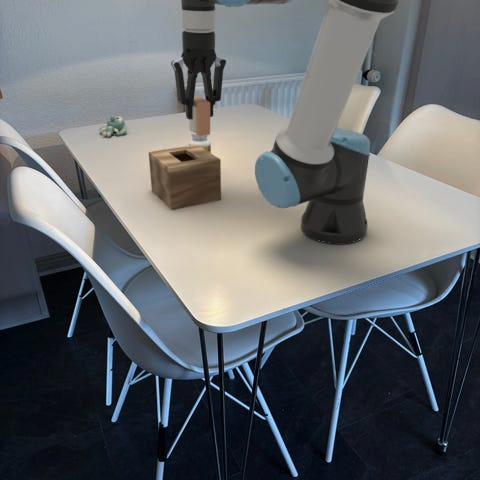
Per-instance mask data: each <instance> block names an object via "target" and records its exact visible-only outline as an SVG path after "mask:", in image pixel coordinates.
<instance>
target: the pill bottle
mask: <svg viewBox="0 0 480 480" xmlns="http://www.w3.org/2000/svg"><path fill="white" fill-rule="evenodd" d="M190 132H191V131H190ZM208 136H209V135H203V136H198V135H197V134H196V133H193V132H191V138H192V139H190V140H189V143H188V146H191V145H199V146H200V147H202V148H203V149H205V150H207V151H208V152H210V153H211V154H212V146H211V145H212V143H211V141H210V140H209V139H208Z"/></svg>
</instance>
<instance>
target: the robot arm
mask: <svg viewBox="0 0 480 480" xmlns="http://www.w3.org/2000/svg"><path fill="white" fill-rule="evenodd" d="M180 1H181V27H182V28H183V31H182V33H181V35H182V41H181V42H182V53H181V56H180V58H179V59H177V60H172V61H171V62H170V65H171V67H172V69H173V71H174V78H175V87H176V94H177V95H176V96H177V101H178V103H180V104H181V105H184V106H185V116H186V119H188V120H190V123H189V131H190V132H193V133H197V122H196V106H194V105H193V103H194V97H195V92H196V84H197V79H198V75H199V73H200V74H201V77H202V84H203V88H204V89H203V91H204V97H205V98H204V99H205V100H207V101H209V102H210V118H213V116H214V106H215V105H216V103H217V102H220V101H221V99H222V91H223V90H222V89H223V88H222V87H223V80H224V79H223V76H224V68H225V67H226V64H227V60H226V59H223V58H222V57H218V56H217V53H216V50H215V49H216V33H215V31H213V30H214V29H216V5H220V6H224V7H226V8H227V7H228V8H231V7H234V8H237V7H238V8H239V7H243V6H247V5H264V4H265V5H267V4H268V5H271V4H272V5H273V4H274V5H284V4H288V3H292V2H293V1H294V0H180ZM399 2H400V0H328V4H327V7H326V10H325V13H324V16H323V20H322V23H321V25H320V28H319V31H318V35H317V37H316V41H315V43H314V47H313V50H312V52H311V55H310V58H309V62H308V64H307V68H306V71H305V73H304V77H303V79H302V83H301V86H300V89H299V92H298V95H297V99H296V101H295V104H294V108H293V110H292V113H291V115H290V116H291V117H290V120H289V122H288V126H287V127H285V128H282V129H281V130H279V131H278V133H277V134H276V137H275V141H274V144H273V147H272V149H271V150H269V151H265V152H263V153H262V154H260V155H259V156H258V157H257V159H256V161H255V164H254V176H255V177H254V178H255V180H256V183H257V187H258V189H259V191H260V193H261V195H262V196H263V198H264V199H265V200H266V202H267V203H269V204H270V205H271V206H273V207H275V208H277V209H287V208H291V207H294V208H295V207H297V206H298V205H301V204H304V203H308V204H307V205H306V208H305V210H304V212H303V214H302V216H301V219H300V229H301V232H302V233H303V232H304V233H305V234H304V233H303V234H304V235H305V236H306V237H308V236H309V238H310V237H311V239H312V238H313V239H312V240H314V239H316V240H315V241H317V240H320V241H324V242H323V243H325V242H330V243H329V244H331V243H348V244H350V243H349V242H353V241H357V240H359V239H361V238H363V237H364V236H365V237H366V235H367V232H368V219H367V217H366V216H367V215H366V210H365V205H364V194H365V186H366V181H367V174H368V167H369V159H370V156H371V153H370V149H371V141H370V139H369V138H368V136H366V135H365V134H363V133H362V132H361V133H360V132H358V131H353V130H349V129H343V128H338V126H339V122H340V119H342V118H341V117H342V115H343V113H344V111H345V108H346V105H347V103H348V100H349V98H350V96H351V93H352V92H353V91H352V90H353V88H354V85H355V84H356V82H357V78H358V76H359V73H360V71H361V69H362V67H363V64H364V62H365V60H366V57H367V54H368V52H369V49H370V47H371V44H372V41H373V40H374V37H375V34H376V32H377V30H378V27H379V25H380V22H381V20H382V19H384V18H386V17H388V16H390V15H392V14H394V13H395V11H396V9H397V8H398V7H397V6H398V5H399ZM184 65H185V67H186V68H187V74H186V75H187V81H186V87H185V79H184V78H185V77H184V72H183V68H184ZM213 65H214V71H213V82H212V72H211V70H212V69H211V68H212V67H213ZM212 84H213V85H212ZM365 237H364V238H365ZM364 238H363V239H364ZM361 240H362V239H361ZM320 241H319V242H320ZM359 241H360V240H359ZM357 242H358V241H357ZM353 243H354V242H353Z"/></svg>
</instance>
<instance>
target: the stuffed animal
mask: <svg viewBox="0 0 480 480" xmlns="http://www.w3.org/2000/svg"><path fill="white" fill-rule="evenodd" d="M127 130H128V128H127V126H126V122H125V120H124V118H123V117H122V116H115V115H111V116H110V117H109V118H108V119H107V121H106V125H103V126H101V127H100V128H99V130H98V131H99V132H100V134H101V135H102V136H103V137H111V136H112V135H113V134H114V132H116V133H115V136H119V137H120V135H121V136H123V134H124V135H125V134H126V133H127Z"/></svg>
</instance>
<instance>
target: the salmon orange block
mask: <svg viewBox="0 0 480 480" xmlns="http://www.w3.org/2000/svg"><path fill="white" fill-rule="evenodd" d="M193 105H194V106H196V122H197V133H196V134H197V135H198V136H203V135H208V136H209V135H211V117H210V102H209V101H207V100H206V98H204V97H202V96H194V103H193ZM188 120H189V119H188ZM189 124H190V120H189Z"/></svg>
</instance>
